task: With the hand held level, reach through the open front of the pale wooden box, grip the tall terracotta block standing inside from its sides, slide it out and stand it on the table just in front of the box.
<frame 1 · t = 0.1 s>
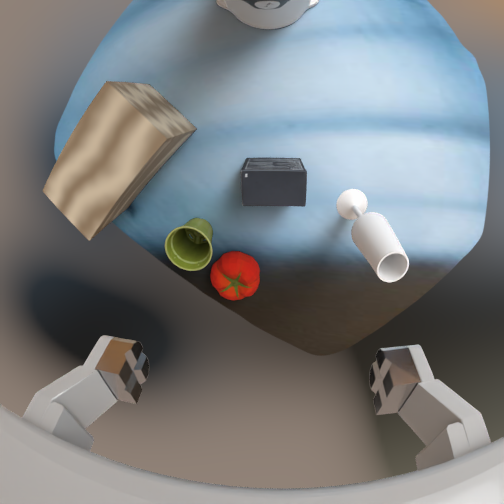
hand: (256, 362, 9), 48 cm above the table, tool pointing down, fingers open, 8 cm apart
tomato: (238, 266, 64), on the table
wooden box: (135, 148, 52), on the table
plant pot: (199, 230, 61), on the table
champagne flute: (352, 204, 55), on the table
small box: (273, 173, 53), on the table
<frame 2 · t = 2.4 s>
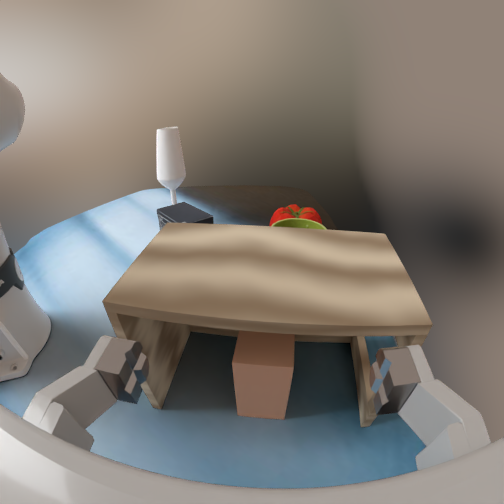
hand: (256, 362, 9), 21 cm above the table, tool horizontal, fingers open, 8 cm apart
tomato: (294, 242, 61), on the table
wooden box: (265, 375, 32), on the table
plant pot: (295, 274, 50), on the table
champagne flute: (177, 227, 68), on the table
small box: (189, 263, 54), on the table
terracotta block: (263, 399, 29), on the table
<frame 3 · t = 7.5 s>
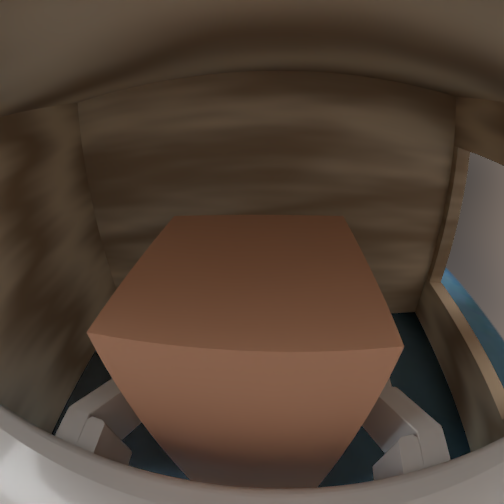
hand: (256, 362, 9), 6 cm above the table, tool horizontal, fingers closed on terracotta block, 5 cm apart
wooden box: (262, 388, 14), on the table
terracotta block: (258, 445, 11), on the table, touching gripper
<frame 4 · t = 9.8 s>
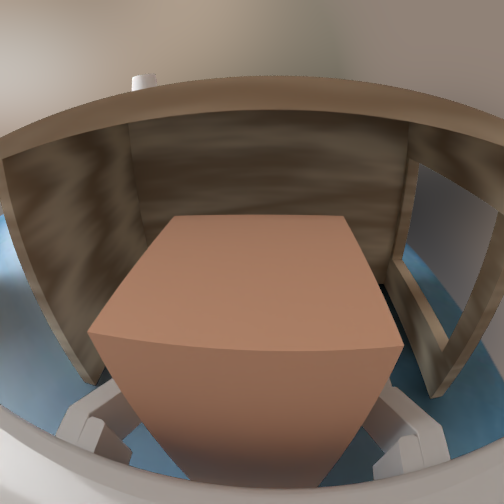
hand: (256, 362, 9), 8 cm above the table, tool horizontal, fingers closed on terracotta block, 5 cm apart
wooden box: (265, 330, 21), on the table
champagne flute: (154, 188, 56), on the table
terracotta block: (258, 445, 11), point 2 cm above the table, touching gripper
when the fingers open (6 cm above the table, at t = 11.5 s): terracotta block stays where it is, on the table.
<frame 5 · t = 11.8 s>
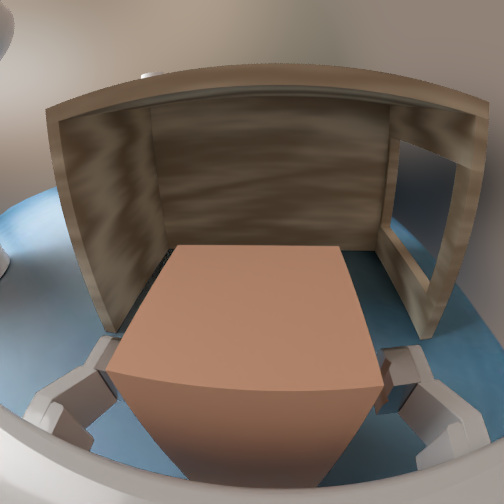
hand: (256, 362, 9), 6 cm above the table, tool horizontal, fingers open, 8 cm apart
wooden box: (269, 284, 24), on the table
terracotta block: (257, 452, 11), on the table
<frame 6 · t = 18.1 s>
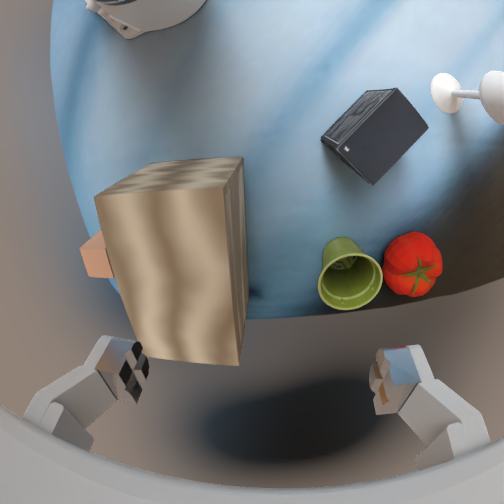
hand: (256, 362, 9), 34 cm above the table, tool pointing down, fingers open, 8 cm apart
tomato: (404, 252, 44), on the table
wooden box: (202, 233, 45), on the table
plant pot: (339, 252, 45), on the table
champagne flute: (446, 93, 30), on the table
small box: (359, 128, 35), on the table
terracotta block: (124, 234, 46), on the table
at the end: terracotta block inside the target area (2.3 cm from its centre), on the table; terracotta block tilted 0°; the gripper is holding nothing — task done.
